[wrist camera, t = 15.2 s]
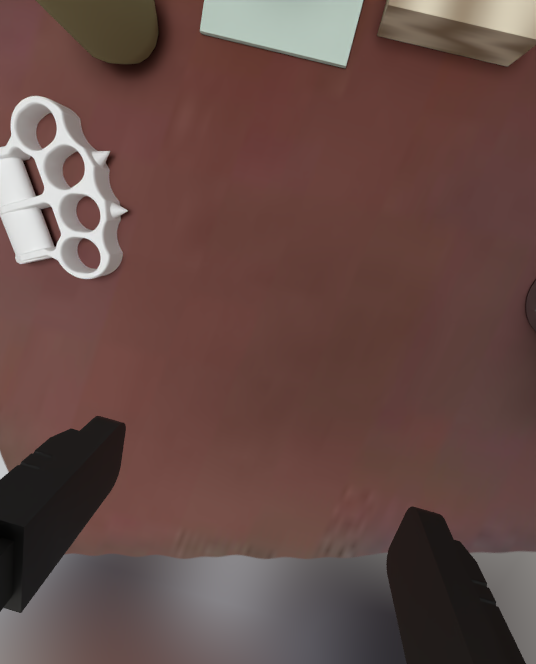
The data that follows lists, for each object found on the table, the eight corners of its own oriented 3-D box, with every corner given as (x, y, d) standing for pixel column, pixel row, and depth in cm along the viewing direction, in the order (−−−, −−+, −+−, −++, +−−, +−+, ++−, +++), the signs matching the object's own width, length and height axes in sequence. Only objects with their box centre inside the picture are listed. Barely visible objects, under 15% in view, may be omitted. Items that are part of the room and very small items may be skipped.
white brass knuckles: (-20, 128, 40) (99, 91, 37) (42, 288, 44) (151, 264, 42) (-49, 120, 36) (79, 79, 34) (21, 293, 41) (138, 268, 39)
